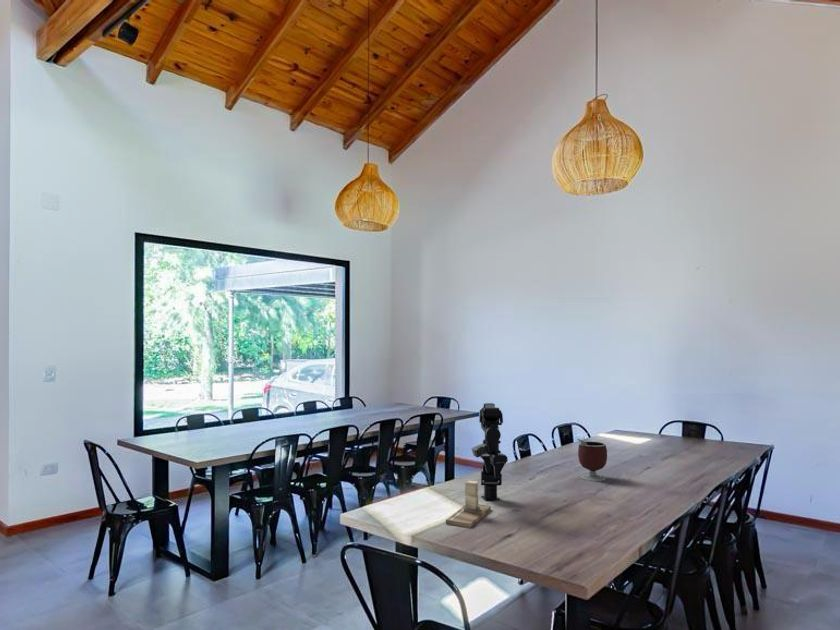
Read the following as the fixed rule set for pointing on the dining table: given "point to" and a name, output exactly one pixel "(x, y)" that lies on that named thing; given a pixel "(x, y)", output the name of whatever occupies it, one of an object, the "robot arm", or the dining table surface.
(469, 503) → the tall beige pillar block
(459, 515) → the walnut board
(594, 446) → the mate gourd
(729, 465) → the dining table surface
